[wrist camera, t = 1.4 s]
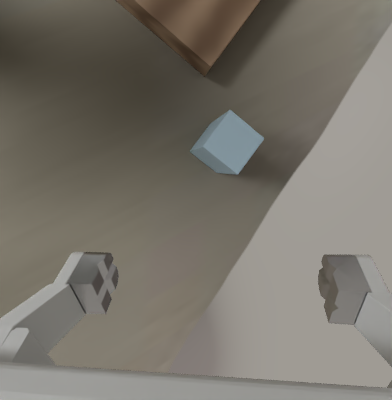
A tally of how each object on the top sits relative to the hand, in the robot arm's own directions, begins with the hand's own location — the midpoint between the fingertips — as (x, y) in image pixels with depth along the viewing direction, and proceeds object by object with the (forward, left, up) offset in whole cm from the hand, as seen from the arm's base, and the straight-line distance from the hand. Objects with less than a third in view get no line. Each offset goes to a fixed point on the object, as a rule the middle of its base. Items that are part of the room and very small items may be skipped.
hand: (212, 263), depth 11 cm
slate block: (+2, +9, -31) cm, 32 cm away
